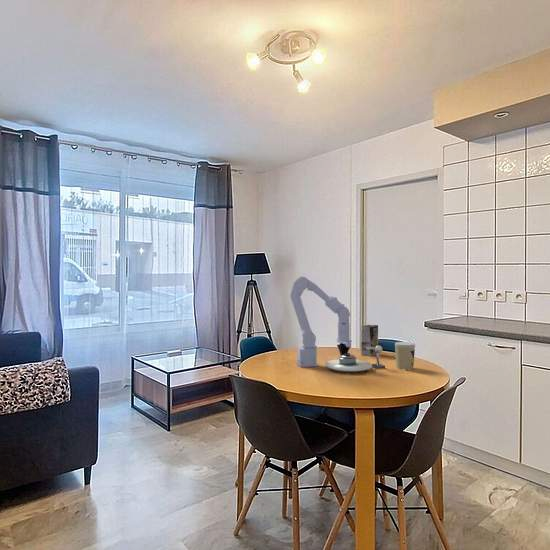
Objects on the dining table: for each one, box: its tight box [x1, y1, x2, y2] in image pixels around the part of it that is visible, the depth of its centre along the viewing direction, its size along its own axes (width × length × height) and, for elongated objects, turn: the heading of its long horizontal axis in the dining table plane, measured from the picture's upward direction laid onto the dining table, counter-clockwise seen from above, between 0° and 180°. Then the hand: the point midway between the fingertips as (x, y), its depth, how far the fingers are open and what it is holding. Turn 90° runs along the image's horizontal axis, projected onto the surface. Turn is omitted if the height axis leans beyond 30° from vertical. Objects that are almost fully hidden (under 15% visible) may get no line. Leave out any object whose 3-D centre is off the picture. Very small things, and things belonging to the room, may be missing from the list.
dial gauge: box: [366, 344, 386, 370], centre depth 205 cm, size 8×5×11 cm, turn 101°
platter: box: [324, 359, 373, 371], centre depth 203 cm, size 22×22×1 cm
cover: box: [338, 352, 357, 366], centre depth 204 cm, size 8×8×5 cm
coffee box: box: [360, 324, 379, 357], centre depth 236 cm, size 9×6×16 cm
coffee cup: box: [394, 341, 416, 371], centre depth 204 cm, size 9×9×12 cm
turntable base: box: [329, 368, 368, 375], centre depth 203 cm, size 18×18×2 cm
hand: (343, 359), depth 209 cm, fingers closed
